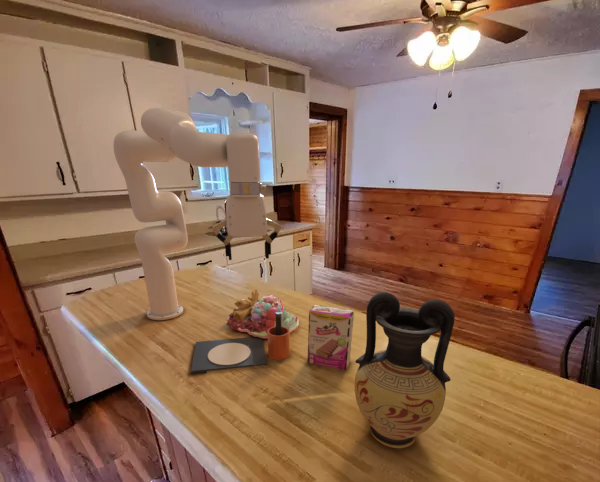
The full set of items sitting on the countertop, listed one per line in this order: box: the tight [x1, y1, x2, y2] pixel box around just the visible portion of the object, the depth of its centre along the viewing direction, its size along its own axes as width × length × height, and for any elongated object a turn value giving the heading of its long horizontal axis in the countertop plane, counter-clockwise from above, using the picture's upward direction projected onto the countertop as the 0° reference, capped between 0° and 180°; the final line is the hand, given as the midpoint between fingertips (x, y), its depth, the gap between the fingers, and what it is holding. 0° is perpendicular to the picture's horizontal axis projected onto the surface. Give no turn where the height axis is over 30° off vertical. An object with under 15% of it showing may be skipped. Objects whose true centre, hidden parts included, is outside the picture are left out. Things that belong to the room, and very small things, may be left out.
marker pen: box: [275, 312, 282, 336], centre depth 95 cm, size 2×2×13 cm
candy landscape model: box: [226, 289, 299, 340], centre depth 115 cm, size 25×24×9 cm
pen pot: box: [267, 326, 291, 361], centre depth 96 cm, size 6×6×8 cm
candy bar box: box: [307, 304, 355, 371], centre depth 90 cm, size 11×5×16 cm, turn 71°
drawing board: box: [190, 336, 268, 375], centre depth 97 cm, size 16×20×1 cm
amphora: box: [354, 291, 456, 449], centre depth 64 cm, size 18×17×30 cm
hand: (248, 258), depth 89 cm, fingers open, 9 cm apart
